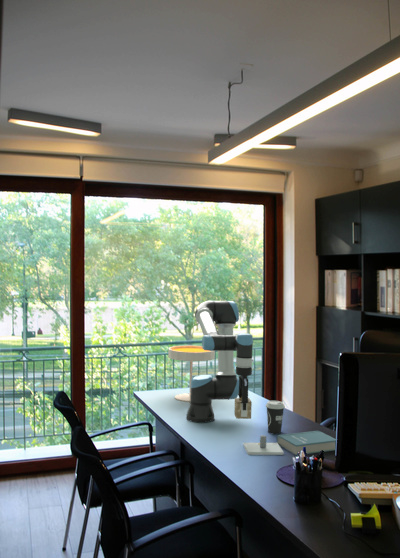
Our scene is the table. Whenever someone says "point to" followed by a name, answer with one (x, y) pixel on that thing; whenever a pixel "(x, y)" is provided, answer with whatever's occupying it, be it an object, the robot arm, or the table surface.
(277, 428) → the coffee cup
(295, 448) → the book
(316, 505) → the table surface
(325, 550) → the table surface
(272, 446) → the plate
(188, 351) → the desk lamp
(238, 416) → the wooden cubby shelf
